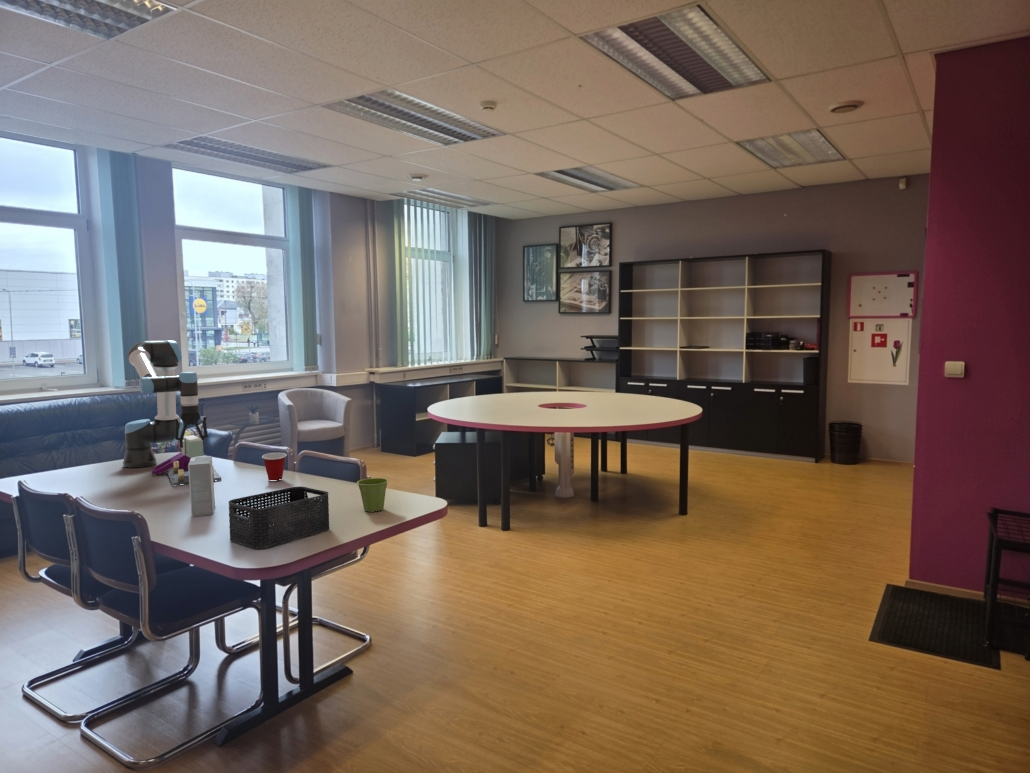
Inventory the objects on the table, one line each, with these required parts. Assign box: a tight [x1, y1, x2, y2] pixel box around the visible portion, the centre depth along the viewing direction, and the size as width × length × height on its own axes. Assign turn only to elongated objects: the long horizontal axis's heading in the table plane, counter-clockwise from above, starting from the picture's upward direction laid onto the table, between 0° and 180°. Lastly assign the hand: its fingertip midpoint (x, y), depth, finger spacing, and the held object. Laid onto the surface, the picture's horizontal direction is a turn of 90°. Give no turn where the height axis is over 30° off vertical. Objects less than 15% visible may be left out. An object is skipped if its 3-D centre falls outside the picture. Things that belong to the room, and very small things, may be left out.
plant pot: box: [356, 477, 389, 513], centre depth 254 cm, size 12×12×11 cm
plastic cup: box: [261, 452, 288, 481], centre depth 307 cm, size 11×11×12 cm
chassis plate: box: [166, 461, 222, 486], centre depth 315 cm, size 30×20×6 cm, turn 32°
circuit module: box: [180, 434, 204, 458], centre depth 314 cm, size 16×6×8 cm, turn 39°
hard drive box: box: [188, 455, 216, 518], centre depth 255 cm, size 16×8×20 cm, turn 22°
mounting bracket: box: [150, 451, 192, 475], centre depth 329 cm, size 9×8×18 cm
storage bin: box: [228, 486, 330, 550], centre depth 224 cm, size 29×19×13 cm
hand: (192, 453), depth 314 cm, fingers closed on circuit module, 6 cm apart
